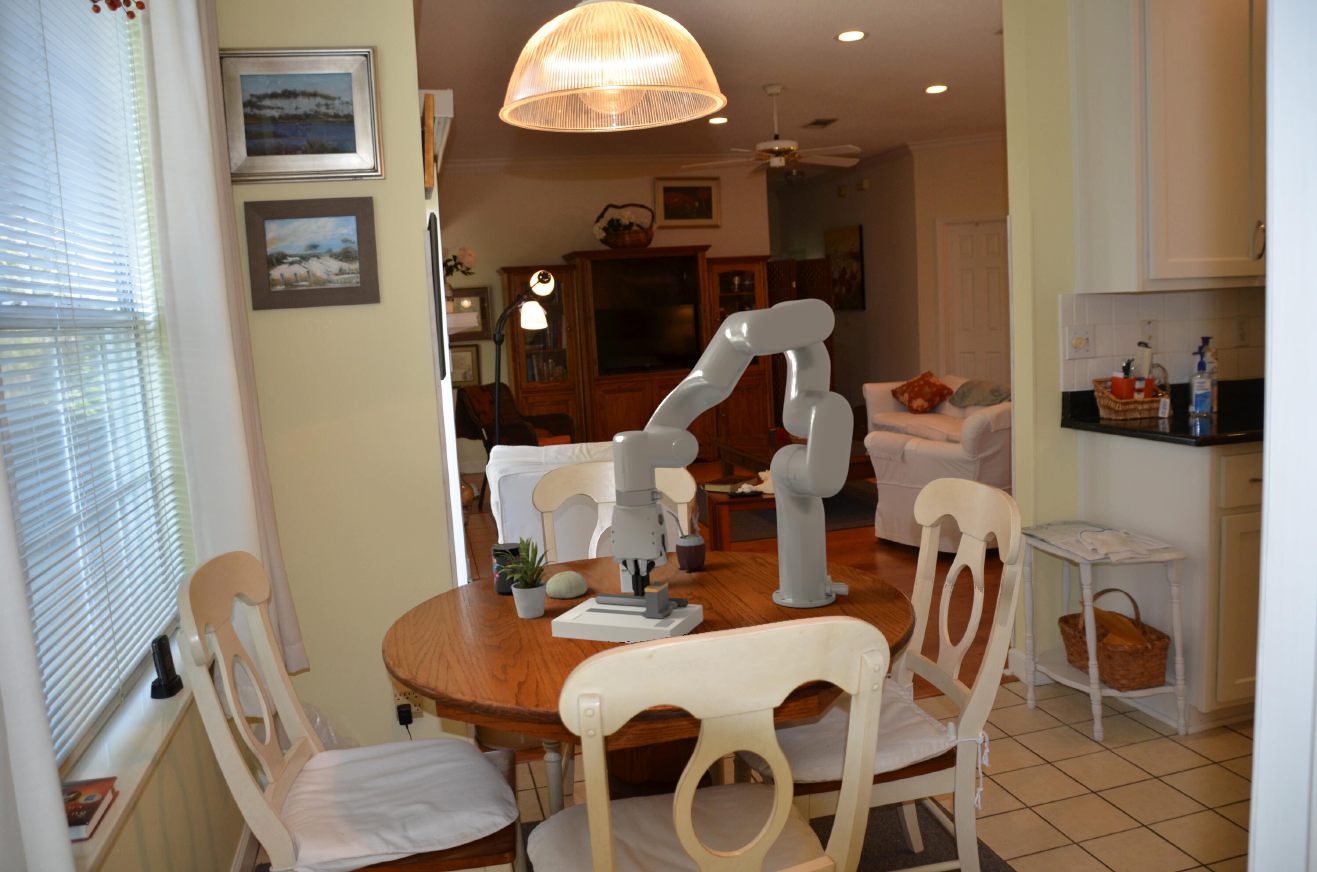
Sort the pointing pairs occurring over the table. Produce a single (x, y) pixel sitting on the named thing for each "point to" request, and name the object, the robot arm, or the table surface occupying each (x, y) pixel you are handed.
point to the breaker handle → (657, 600)
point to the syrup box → (626, 579)
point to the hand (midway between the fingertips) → (641, 594)
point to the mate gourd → (690, 550)
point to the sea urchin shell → (566, 585)
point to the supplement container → (500, 578)
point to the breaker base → (625, 619)
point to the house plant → (528, 580)
